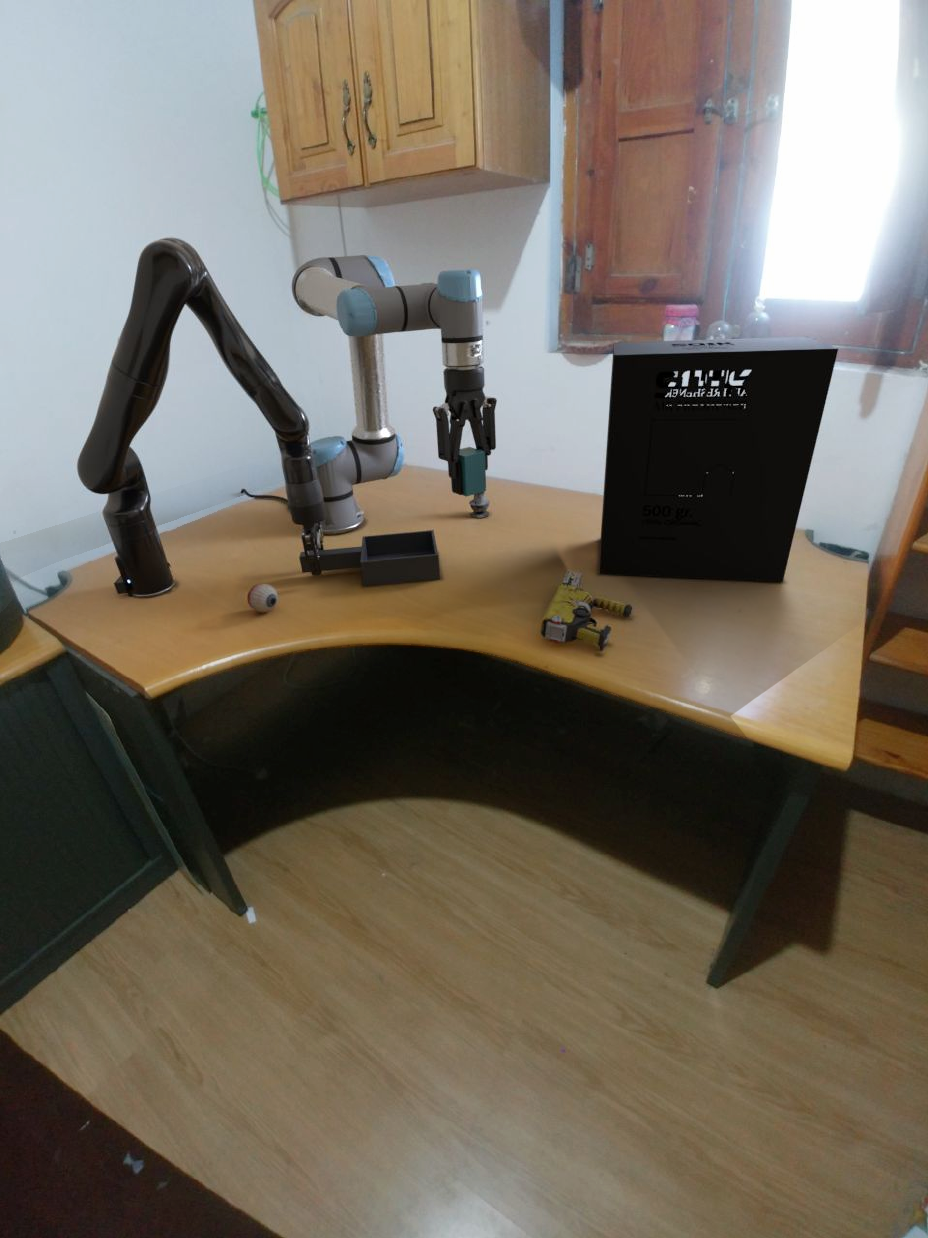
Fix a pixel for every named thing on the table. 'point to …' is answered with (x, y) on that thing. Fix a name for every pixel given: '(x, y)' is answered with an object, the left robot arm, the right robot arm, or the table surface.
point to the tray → (385, 558)
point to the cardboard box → (710, 455)
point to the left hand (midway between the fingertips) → (318, 566)
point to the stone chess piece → (479, 505)
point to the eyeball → (262, 597)
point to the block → (472, 470)
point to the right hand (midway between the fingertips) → (469, 489)
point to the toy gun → (578, 614)
